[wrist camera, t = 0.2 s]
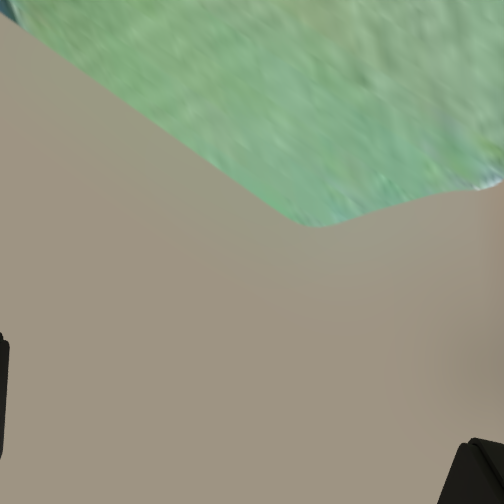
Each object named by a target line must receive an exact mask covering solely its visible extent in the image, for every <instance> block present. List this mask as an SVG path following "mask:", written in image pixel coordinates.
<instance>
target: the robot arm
mask: <svg viewBox="0 0 504 504" xmlns="http://www.w3.org/2000/svg"><path fill="white" fill-rule="evenodd" d="M9 349H10V347H9V343H8V341H6V340H3V336H2V333H0V458H1V455H2V452H3V441H4V426H5V411H6V395H7V380H8V364H9ZM437 504H504V444H501V443H497V442H493V441H488V440H484V439H478V438H471V440H470V441H469V442H468V443H462V444H461V445H460V446H459V448H458V450H457V453H456V455H455V458H454V460H453V463H452V466H451V468H450V471H449V474H448V476H447V479H446V481H445V484H444V487H443V489H442V492H441V495H440V498H439V500H438V503H437Z"/></svg>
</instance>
